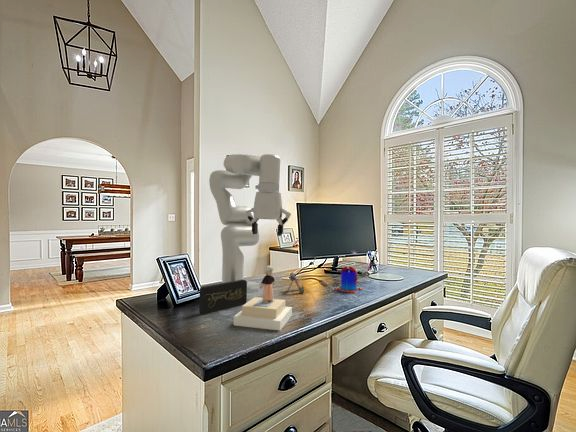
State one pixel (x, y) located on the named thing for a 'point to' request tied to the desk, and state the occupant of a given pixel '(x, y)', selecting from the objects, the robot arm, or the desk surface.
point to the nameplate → (222, 296)
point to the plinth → (263, 320)
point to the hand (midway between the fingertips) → (267, 234)
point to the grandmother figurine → (267, 285)
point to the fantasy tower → (348, 280)
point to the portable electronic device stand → (292, 277)
